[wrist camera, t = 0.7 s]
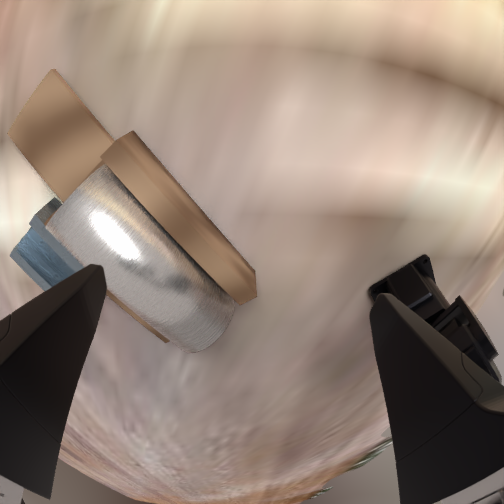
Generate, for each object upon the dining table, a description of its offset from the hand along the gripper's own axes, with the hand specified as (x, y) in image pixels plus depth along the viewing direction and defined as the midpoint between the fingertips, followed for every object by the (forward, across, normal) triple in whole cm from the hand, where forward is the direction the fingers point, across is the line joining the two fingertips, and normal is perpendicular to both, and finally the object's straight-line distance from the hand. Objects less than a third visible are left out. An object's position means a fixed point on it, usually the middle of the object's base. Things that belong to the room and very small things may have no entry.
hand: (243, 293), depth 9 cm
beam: (+12, +9, +3) cm, 15 cm away
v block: (+12, +14, +8) cm, 20 cm away
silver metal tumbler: (+11, +6, +6) cm, 14 cm away
